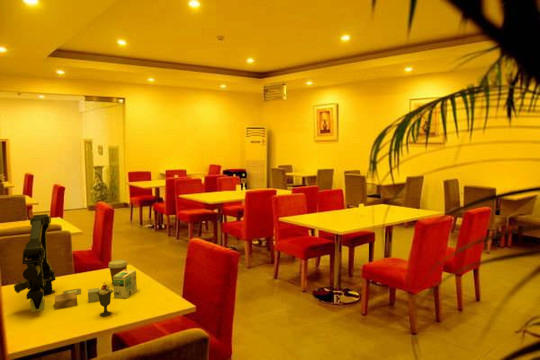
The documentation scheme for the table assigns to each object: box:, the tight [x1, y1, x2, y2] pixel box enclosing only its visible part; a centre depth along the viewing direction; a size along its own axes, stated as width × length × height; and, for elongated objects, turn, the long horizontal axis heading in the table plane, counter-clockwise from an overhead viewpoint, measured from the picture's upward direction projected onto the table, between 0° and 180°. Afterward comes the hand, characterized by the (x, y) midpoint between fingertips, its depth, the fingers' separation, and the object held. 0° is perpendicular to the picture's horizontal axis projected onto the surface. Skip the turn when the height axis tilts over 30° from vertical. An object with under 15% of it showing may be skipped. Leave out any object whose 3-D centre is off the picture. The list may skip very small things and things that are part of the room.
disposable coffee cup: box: [107, 259, 129, 284], centre depth 217 cm, size 10×10×12 cm
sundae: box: [96, 282, 114, 318], centre depth 179 cm, size 7×7×15 cm
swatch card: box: [62, 288, 82, 296], centre depth 206 cm, size 8×8×1 cm
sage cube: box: [30, 296, 46, 313], centre depth 187 cm, size 5×5×5 cm
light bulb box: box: [112, 269, 138, 299], centre depth 203 cm, size 11×7×11 cm, turn 168°
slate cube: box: [87, 287, 100, 304], centre depth 196 cm, size 5×5×5 cm
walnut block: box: [54, 292, 78, 310], centre depth 192 cm, size 9×9×4 cm
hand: (37, 306), depth 187 cm, fingers closed on sage cube, 5 cm apart
